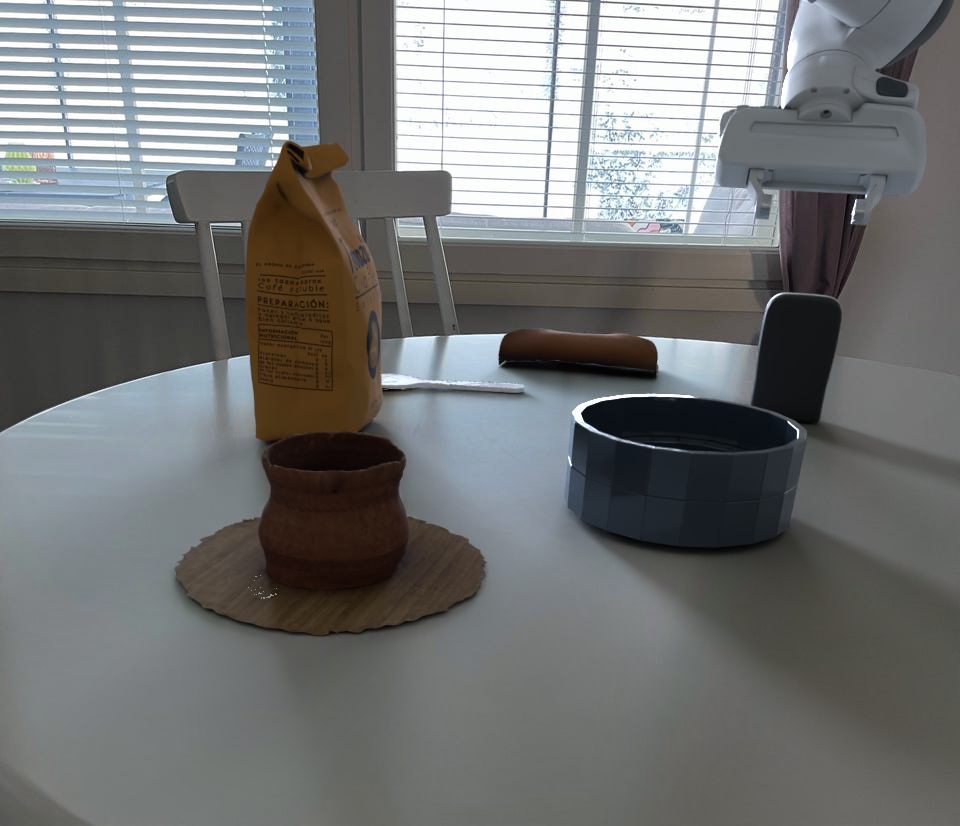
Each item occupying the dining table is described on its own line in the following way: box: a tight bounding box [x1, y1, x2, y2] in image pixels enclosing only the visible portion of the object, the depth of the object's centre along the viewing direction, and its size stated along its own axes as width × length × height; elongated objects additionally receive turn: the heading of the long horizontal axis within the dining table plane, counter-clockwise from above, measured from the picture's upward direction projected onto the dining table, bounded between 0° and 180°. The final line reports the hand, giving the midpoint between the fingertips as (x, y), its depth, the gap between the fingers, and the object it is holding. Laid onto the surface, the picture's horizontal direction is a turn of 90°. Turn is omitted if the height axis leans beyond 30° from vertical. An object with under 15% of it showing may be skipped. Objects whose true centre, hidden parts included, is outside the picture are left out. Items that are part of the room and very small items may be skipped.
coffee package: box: [245, 140, 384, 442], centre depth 75 cm, size 10×12×22 cm
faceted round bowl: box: [564, 393, 808, 548], centre depth 63 cm, size 15×15×6 cm
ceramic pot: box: [174, 431, 488, 637], centre depth 53 cm, size 18×18×7 cm
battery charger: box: [749, 291, 844, 423], centre depth 88 cm, size 7×4×11 cm, turn 73°
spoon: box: [381, 372, 525, 394], centre depth 96 cm, size 5×18×1 cm, turn 87°
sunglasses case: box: [497, 327, 660, 378], centre depth 107 cm, size 18×7×7 cm
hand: (810, 217), depth 93 cm, fingers open, 8 cm apart
